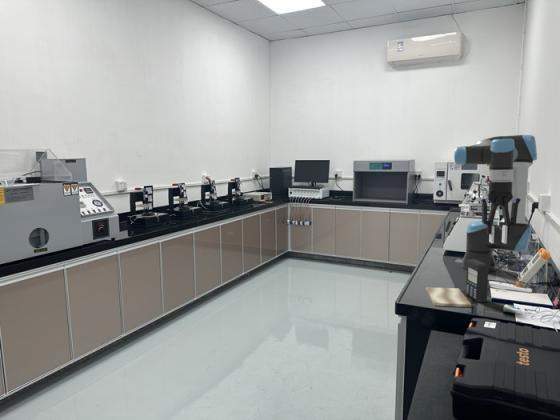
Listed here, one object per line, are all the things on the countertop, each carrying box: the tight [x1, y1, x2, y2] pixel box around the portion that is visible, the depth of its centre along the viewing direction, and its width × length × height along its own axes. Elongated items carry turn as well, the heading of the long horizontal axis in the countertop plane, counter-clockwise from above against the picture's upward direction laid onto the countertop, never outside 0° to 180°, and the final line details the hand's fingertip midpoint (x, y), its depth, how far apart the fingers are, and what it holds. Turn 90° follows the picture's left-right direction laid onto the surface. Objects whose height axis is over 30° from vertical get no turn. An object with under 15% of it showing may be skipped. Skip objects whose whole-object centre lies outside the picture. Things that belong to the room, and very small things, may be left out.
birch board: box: [425, 286, 472, 308], centre depth 153 cm, size 13×18×1 cm
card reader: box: [465, 259, 489, 303], centre depth 150 cm, size 9×4×15 cm, turn 5°
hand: (497, 242), depth 147 cm, fingers open, 4 cm apart
